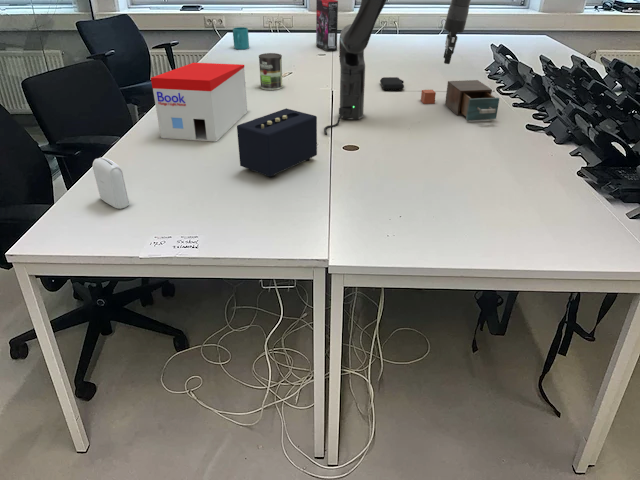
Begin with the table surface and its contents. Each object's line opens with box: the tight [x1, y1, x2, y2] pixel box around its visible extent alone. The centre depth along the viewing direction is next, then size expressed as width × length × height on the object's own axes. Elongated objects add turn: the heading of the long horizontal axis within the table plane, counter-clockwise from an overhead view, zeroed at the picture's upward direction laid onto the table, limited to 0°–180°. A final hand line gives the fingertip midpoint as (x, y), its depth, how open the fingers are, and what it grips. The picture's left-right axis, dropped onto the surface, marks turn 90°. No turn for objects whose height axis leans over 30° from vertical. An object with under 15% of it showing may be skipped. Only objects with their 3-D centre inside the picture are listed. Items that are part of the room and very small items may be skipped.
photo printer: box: [92, 157, 130, 210], centre depth 140 cm, size 10×4×12 cm, turn 47°
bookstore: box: [150, 62, 248, 143], centre depth 193 cm, size 21×35×21 cm, turn 169°
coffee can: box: [258, 52, 284, 91], centre depth 239 cm, size 10×10×14 cm
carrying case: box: [379, 76, 405, 91], centre depth 242 cm, size 11×3×15 cm
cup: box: [232, 26, 250, 51], centre depth 315 cm, size 9×12×11 cm
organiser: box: [444, 79, 493, 116], centre depth 211 cm, size 15×13×10 cm
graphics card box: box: [315, 0, 339, 52], centre depth 310 cm, size 17×7×27 cm, turn 25°
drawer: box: [460, 92, 500, 121], centre depth 201 cm, size 18×11×8 cm, turn 7°
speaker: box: [236, 108, 318, 178], centre depth 161 cm, size 22×13×15 cm, turn 141°
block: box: [420, 89, 437, 105], centre depth 221 cm, size 5×5×5 cm
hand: (446, 60), depth 210 cm, fingers open, 8 cm apart
